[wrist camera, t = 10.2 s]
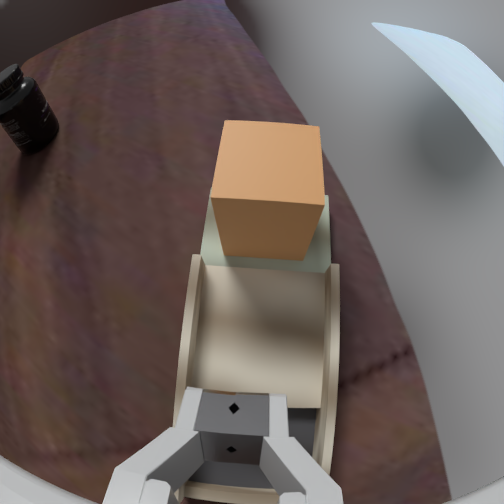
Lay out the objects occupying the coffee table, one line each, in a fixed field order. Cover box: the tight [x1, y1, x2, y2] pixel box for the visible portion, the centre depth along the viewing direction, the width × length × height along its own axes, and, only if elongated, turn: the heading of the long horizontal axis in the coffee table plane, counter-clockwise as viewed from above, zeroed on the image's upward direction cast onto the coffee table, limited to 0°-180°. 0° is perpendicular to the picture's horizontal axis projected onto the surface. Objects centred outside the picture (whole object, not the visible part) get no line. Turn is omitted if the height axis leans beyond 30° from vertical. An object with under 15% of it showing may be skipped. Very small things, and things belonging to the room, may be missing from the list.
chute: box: [173, 188, 340, 504], centre depth 20 cm, size 25×10×4 cm, turn 176°
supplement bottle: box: [0, 64, 58, 154], centre depth 26 cm, size 7×7×12 cm
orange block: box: [210, 120, 325, 261], centre depth 20 cm, size 6×6×8 cm
